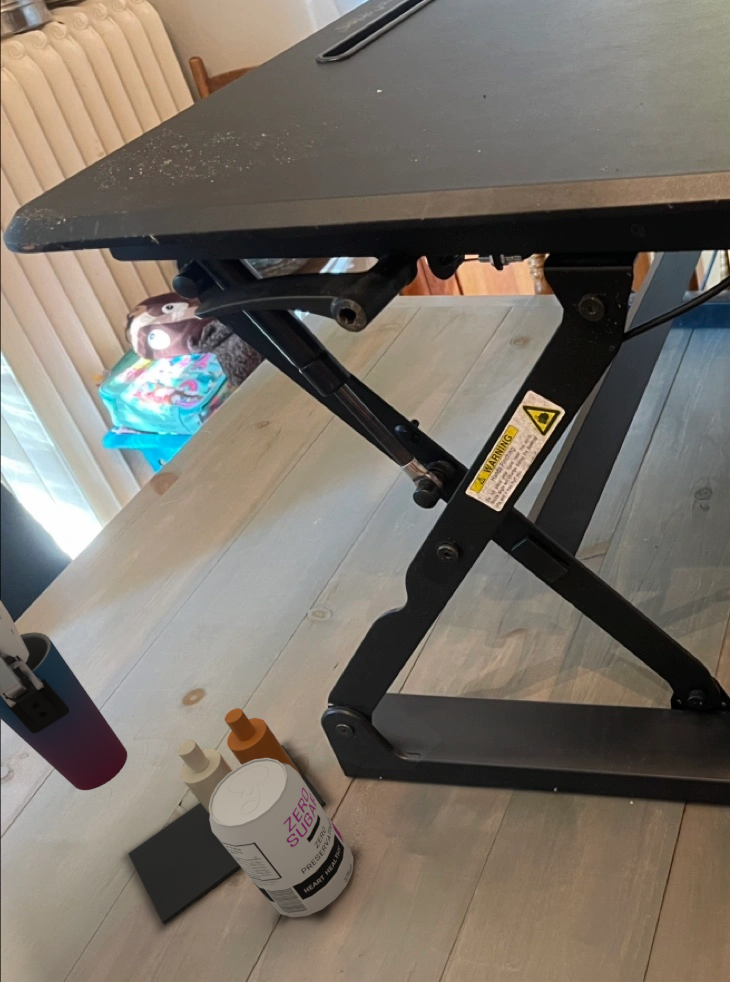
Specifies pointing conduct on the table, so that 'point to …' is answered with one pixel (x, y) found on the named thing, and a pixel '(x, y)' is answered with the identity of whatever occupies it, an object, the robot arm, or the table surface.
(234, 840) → the supplement can
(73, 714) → the cup
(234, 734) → the amber bottle
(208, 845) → the mat
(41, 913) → the table surface
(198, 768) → the cream bottle
